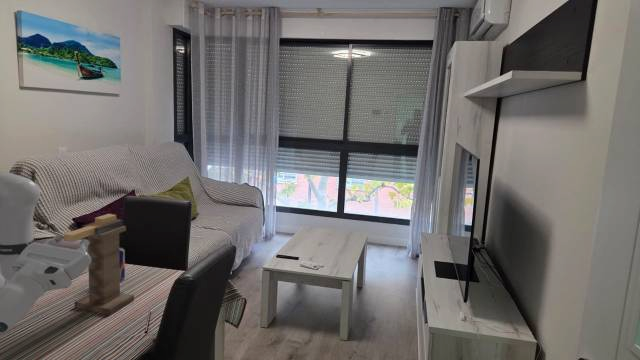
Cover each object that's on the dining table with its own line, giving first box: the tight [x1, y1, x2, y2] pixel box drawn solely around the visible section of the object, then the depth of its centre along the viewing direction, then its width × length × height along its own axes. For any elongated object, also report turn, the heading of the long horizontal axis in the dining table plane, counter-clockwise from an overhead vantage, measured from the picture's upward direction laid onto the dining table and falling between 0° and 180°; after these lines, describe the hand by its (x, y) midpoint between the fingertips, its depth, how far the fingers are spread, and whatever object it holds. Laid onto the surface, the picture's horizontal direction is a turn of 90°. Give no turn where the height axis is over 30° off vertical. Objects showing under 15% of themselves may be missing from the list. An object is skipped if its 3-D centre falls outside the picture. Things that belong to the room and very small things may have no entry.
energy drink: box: [119, 247, 126, 282], centre depth 156 cm, size 5×5×12 cm
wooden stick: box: [63, 213, 117, 243], centre depth 129 cm, size 3×18×4 cm, turn 166°
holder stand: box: [74, 218, 135, 316], centre depth 136 cm, size 14×11×28 cm
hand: (73, 238), depth 122 cm, fingers open, 8 cm apart
